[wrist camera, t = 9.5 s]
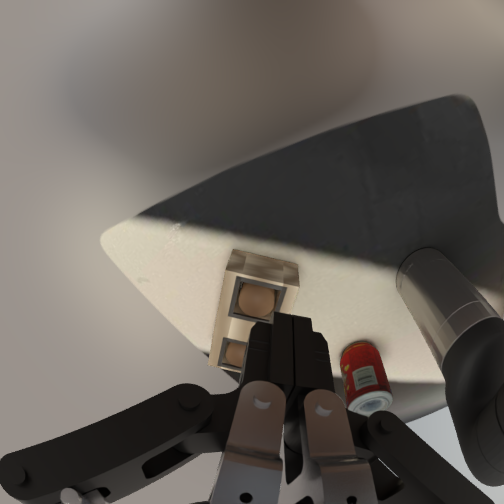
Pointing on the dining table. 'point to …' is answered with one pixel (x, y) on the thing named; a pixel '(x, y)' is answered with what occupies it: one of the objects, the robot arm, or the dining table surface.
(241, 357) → the peg
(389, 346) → the dining table surface
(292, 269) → the block
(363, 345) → the soda can
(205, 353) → the dining table surface
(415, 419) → the dining table surface
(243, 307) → the peg
